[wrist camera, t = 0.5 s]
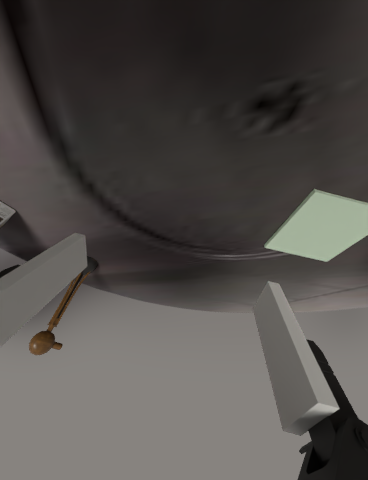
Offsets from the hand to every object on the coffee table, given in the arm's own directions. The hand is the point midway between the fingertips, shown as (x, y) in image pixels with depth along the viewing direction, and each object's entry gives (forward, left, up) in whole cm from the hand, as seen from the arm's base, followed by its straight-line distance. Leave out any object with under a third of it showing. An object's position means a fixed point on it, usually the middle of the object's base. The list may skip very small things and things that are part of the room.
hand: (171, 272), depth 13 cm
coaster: (+5, +22, -15) cm, 27 cm away
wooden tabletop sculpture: (+31, -19, -16) cm, 40 cm away
